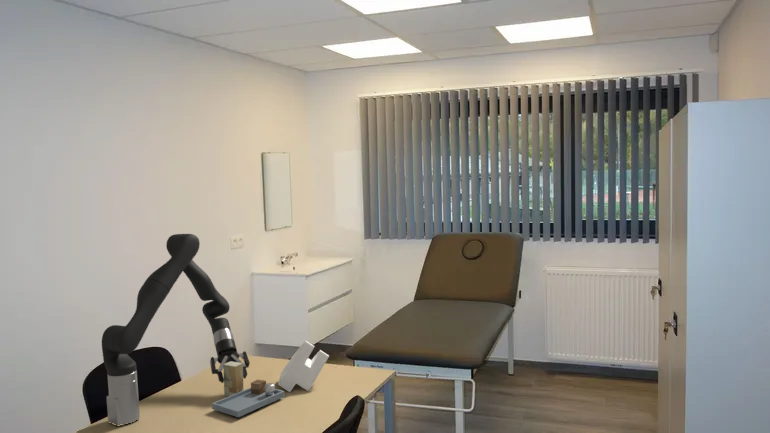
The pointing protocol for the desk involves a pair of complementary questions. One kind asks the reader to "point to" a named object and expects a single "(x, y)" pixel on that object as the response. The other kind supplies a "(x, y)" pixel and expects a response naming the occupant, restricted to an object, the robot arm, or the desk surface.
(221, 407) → the blue-grey serving tray
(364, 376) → the desk surface
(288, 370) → the slotted wedge
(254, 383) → the walnut block
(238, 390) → the skincare box
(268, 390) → the chrome dome knob
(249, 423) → the desk surface
